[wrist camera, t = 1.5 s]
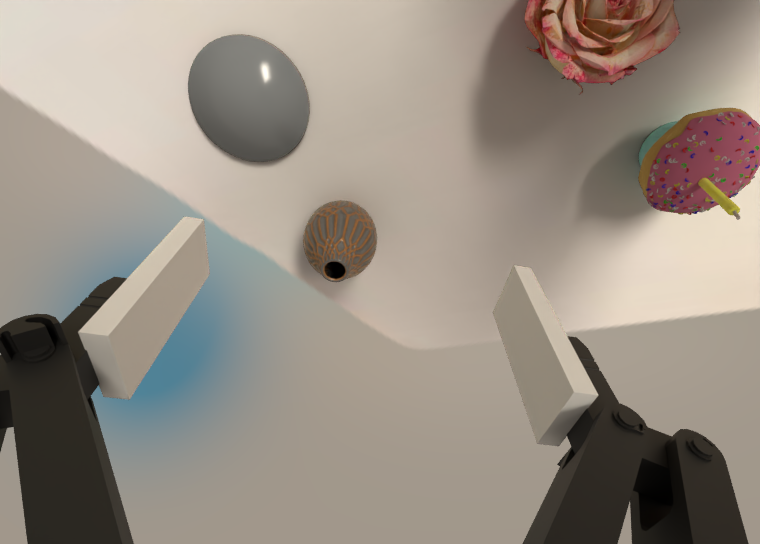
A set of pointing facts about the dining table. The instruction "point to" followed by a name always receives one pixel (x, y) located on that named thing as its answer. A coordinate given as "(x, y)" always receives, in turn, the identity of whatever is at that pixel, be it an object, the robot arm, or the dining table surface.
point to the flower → (600, 35)
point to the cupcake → (700, 161)
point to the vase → (340, 240)
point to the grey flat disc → (248, 97)
